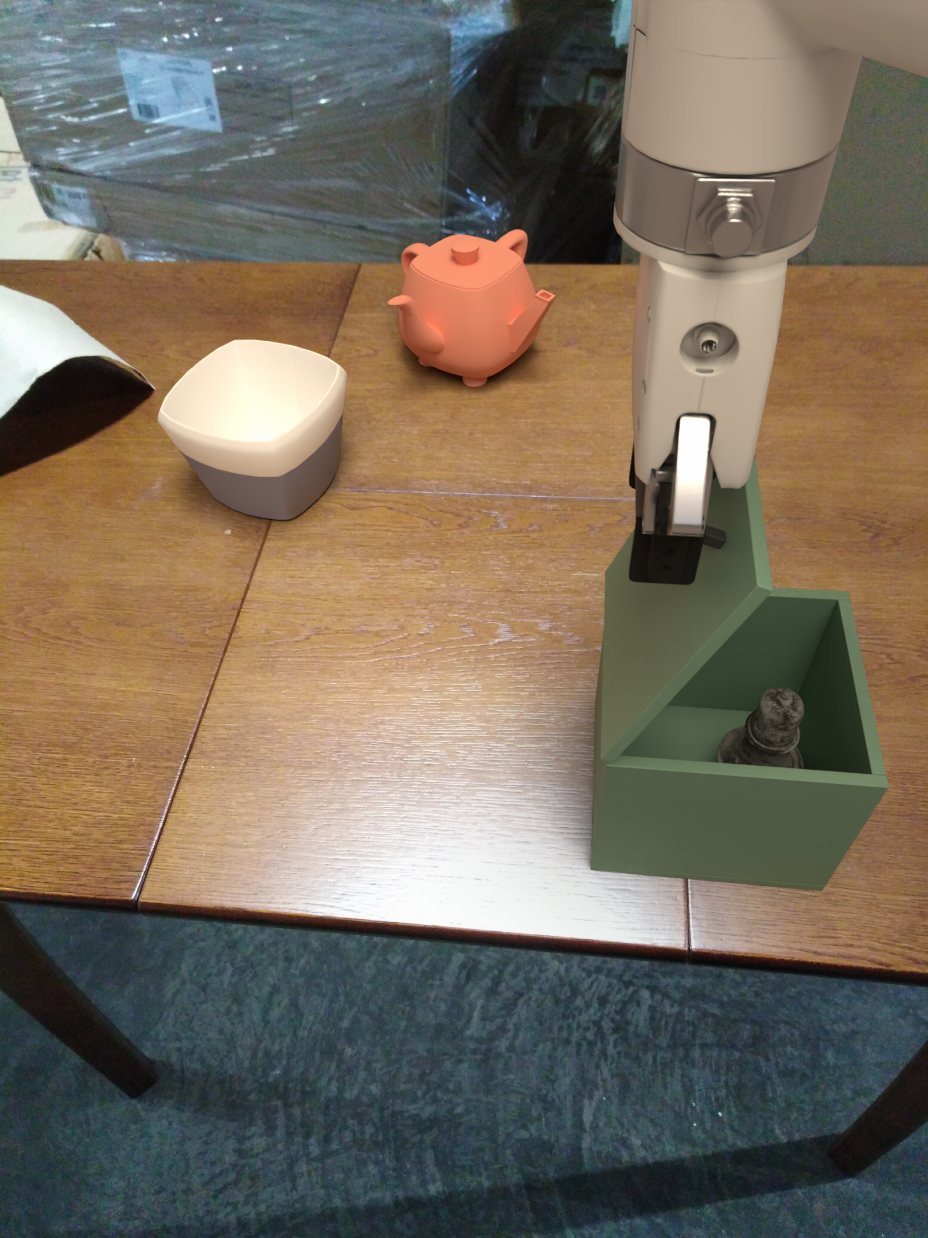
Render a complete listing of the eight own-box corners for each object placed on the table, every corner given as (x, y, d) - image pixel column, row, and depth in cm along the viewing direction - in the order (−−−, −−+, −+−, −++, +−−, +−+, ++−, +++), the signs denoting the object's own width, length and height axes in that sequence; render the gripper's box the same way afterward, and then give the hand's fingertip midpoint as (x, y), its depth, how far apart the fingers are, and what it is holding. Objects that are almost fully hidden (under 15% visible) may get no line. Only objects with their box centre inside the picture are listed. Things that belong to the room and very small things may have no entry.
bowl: (169, 508, 88) (131, 417, 80) (255, 418, 97) (229, 326, 88) (301, 551, 84) (276, 459, 75) (379, 452, 92) (365, 359, 84)
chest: (796, 712, 70) (848, 591, 59) (822, 891, 61) (889, 787, 50) (595, 698, 72) (609, 577, 61) (590, 870, 62) (605, 765, 51)
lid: (746, 386, 48) (656, 354, 47) (774, 590, 39) (662, 555, 38) (615, 575, 60) (542, 552, 59) (613, 763, 51) (526, 739, 50)
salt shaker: (793, 759, 66) (838, 662, 57) (790, 830, 63) (836, 739, 53) (713, 743, 67) (743, 645, 58) (704, 812, 64) (735, 719, 55)
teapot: (555, 388, 98) (558, 273, 87) (401, 410, 97) (387, 296, 86) (525, 310, 108) (525, 198, 98) (386, 329, 107) (371, 218, 97)
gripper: (864, 314, 27) (746, 668, 41) (797, 88, 38) (721, 428, 52) (613, 308, 28) (581, 657, 42) (618, 88, 39) (591, 423, 53)
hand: (659, 528), depth 47 cm, fingers closed on lid, 6 cm apart
